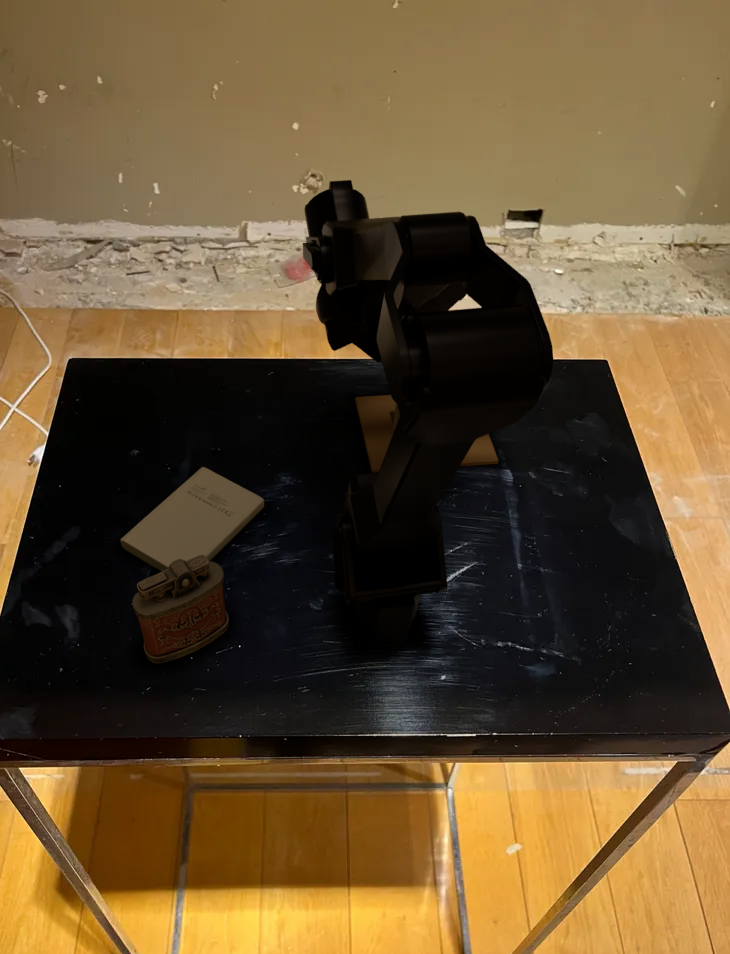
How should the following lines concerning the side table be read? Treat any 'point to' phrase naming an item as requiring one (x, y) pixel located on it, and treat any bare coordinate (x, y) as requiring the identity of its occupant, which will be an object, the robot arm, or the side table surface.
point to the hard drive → (193, 521)
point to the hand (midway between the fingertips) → (442, 371)
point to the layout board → (379, 431)
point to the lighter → (181, 608)
